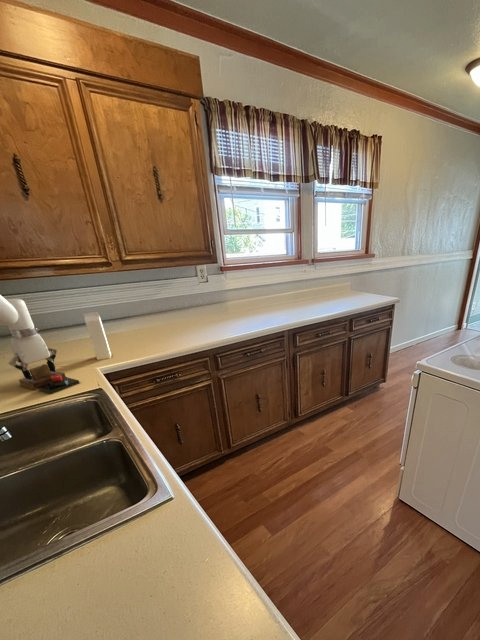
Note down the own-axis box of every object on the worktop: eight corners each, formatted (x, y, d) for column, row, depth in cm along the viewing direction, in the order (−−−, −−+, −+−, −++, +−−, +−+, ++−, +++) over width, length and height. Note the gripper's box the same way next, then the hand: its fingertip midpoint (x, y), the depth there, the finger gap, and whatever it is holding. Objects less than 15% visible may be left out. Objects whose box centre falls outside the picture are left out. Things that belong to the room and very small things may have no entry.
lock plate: (35, 391, 127) (32, 383, 125) (21, 386, 131) (18, 379, 129) (67, 379, 136) (64, 372, 135) (52, 376, 140) (50, 369, 139)
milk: (98, 357, 162) (83, 312, 152) (111, 355, 164) (98, 310, 154) (97, 360, 157) (82, 314, 147) (111, 358, 159) (97, 313, 149)
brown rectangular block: (35, 379, 129) (30, 369, 128) (32, 378, 130) (28, 368, 128) (50, 374, 134) (47, 364, 132) (48, 373, 135) (44, 363, 133)
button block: (51, 394, 123) (48, 386, 122) (39, 391, 127) (36, 383, 125) (79, 384, 132) (77, 376, 131) (68, 380, 135) (65, 373, 134)
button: (55, 382, 126) (53, 378, 125) (49, 381, 127) (48, 377, 126) (64, 379, 129) (63, 375, 128) (59, 378, 130) (57, 374, 129)
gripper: (42, 326, 132) (58, 366, 140) (-9, 337, 119) (12, 381, 127) (53, 328, 129) (68, 369, 137) (2, 340, 116) (22, 384, 124)
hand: (41, 374), depth 132 cm, fingers open, 8 cm apart
